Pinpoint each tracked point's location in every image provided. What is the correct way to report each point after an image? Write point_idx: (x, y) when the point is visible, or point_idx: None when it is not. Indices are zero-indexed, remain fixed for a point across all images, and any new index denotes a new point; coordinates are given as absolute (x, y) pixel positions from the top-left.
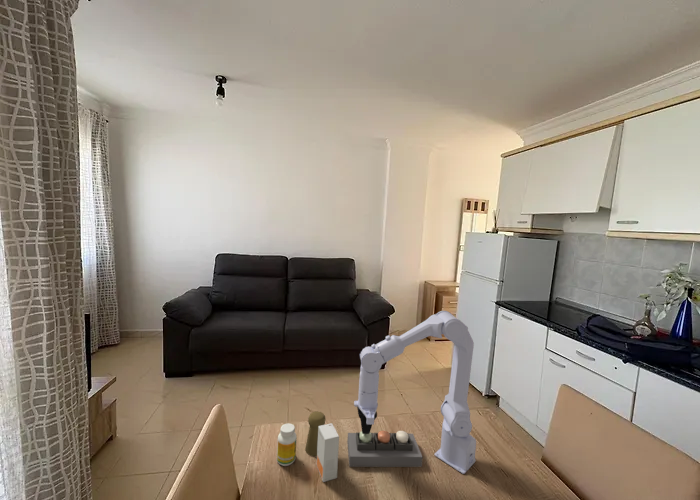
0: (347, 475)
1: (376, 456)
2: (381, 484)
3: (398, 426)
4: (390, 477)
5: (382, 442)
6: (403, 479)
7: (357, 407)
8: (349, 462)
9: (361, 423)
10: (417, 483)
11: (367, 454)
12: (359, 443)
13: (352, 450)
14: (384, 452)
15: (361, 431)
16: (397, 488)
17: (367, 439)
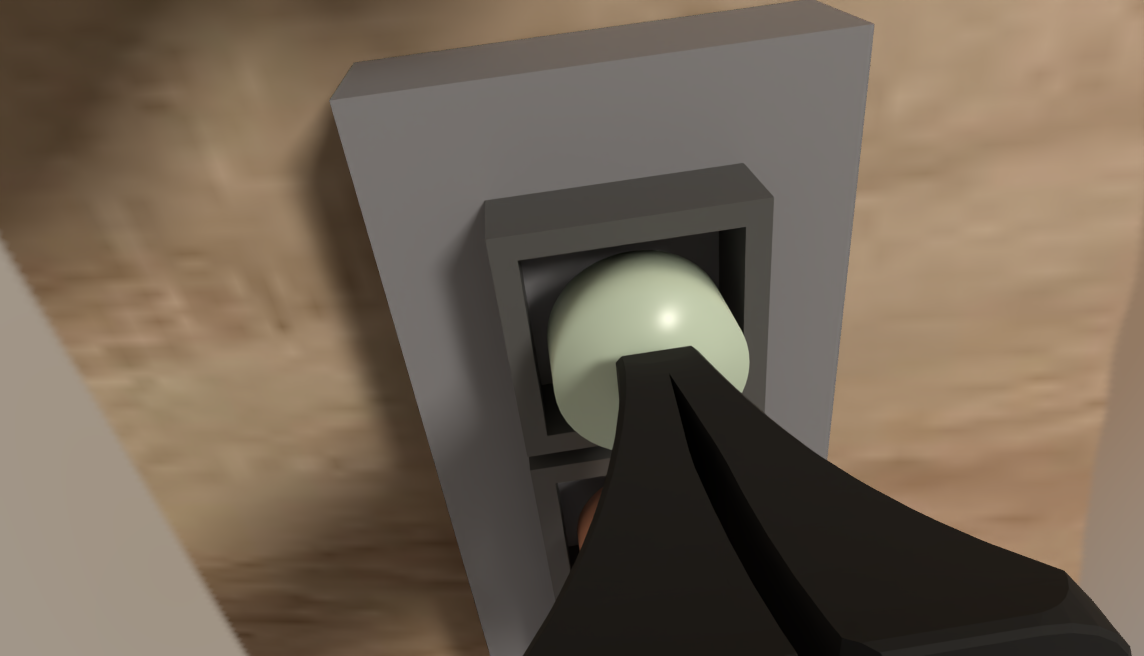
0: (199, 49)
1: (428, 423)
2: (218, 403)
3: (993, 519)
4: (332, 467)
5: (579, 524)
6: (342, 549)
7: (1006, 642)
8: (345, 76)
9: (605, 494)
10: (334, 622)
11: (433, 332)
12: (515, 266)
13: (470, 132)
14: (509, 492)
15: (716, 316)
16: (227, 513)
17: (557, 396)
